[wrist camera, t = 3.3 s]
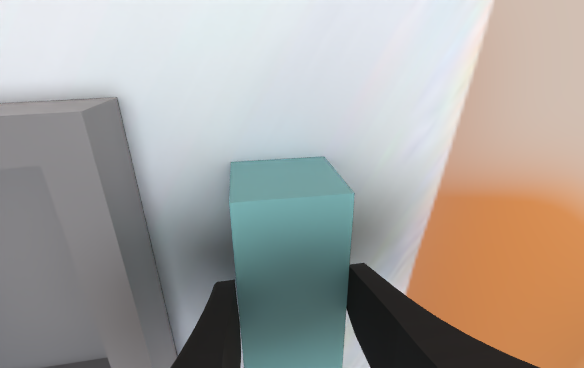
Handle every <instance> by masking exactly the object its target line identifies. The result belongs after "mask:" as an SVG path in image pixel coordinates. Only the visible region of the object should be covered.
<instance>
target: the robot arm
mask: <svg viewBox="0 0 584 368" xmlns="http://www.w3.org/2000/svg"><path fill="white" fill-rule="evenodd" d="M346 308H347V311H348V315H349V318H350V321H351V324H352V327H353V330H354V333H355V335H356V337H357V340H358V342H359V344H360V346H361V348H362V350H363V352H364V355H365V357H366V359H367V361H368V363H369V365H370V367H371V368H539V367H537V366H534V365H532V364H529V363H527V362H525V361H522V360H520V359H517V358H515V357H513V356H510V355H508V354H506V353H504V352H502V351H499V350H497V349H495V348H493V347H491V346H489V345H487V344H485V343H483V342H481V341H479V340H477V339H475V338H473V337H471V336H469V335H467V334H465V333H464V332H462V331H460V330H458V329H457V328H455V327H453V326H451V325H449V324H448V323H446V322H444V321H443V320H441V319H439V318H437V317H436V316H435V315H433V314H432V313H430V312H429V311H427V310H426V309H424V308H423V307H421V306H420V305H418V304H417V303H415V302H414V301H412V300H411V299H410V298H408V297H407V296H406V295H404V294H403V293H402V292H400V291H399V290H398V289H396V288H395V287H394V286H392V285H391V284H390V283H389V282H387V281H386V280H385V279H384V278H382V277H381V276H380V275H379V274H377V273H376V272H375V271H374V270H372V269H371V268H370V267H369V266H367V265H366V264H365V263H359V264H351V265H349V278H348V292H347V306H346ZM240 363H241V338H240V321H239V313H238V305H237V296H236V288H235V280H229V281H221V282H217V283H216V284H215V285H214V287H213V290H212V293H211V295H210V298H209V300H208V302H207V304H206V306H205V309H204V311H203V313H202V315H201V317H200V319H199V321H198V322H197V324H196V326H195V328H194V330H193V332H192V334H191V335H190V337H189V339H188V340H187V342H186V344H185V345H184V347H183V349H182V350H181V352H180V354H179V355H178V357H177V358H176V360H175V361H174V363H173V364H172V366H171V367H170V368H240Z"/></svg>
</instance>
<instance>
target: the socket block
mask: <svg viewBox="0 0 584 368" xmlns="http://www.w3.org/2000/svg"><path fill="white" fill-rule="evenodd" d="M176 358H177V354H176V349H175V345H174V341H173V336H172V332H171V328H170V324H169V319H168V315H167V311H166V306H165V302H164V298H163V294H162V289H161V285H160V281H159V276H158V272H157V268H156V264H155V259H154V255H153V251H152V246H151V242H150V238H149V234H148V229H147V225H146V221H145V216H144V212H143V208H142V204H141V199H140V195H139V191H138V187H137V182H136V178H135V174H134V169H133V165H132V161H131V157H130V152H129V148H128V144H127V139H126V135H125V131H124V127H123V122H122V118H121V114H120V109H119V105H118V101H117V97H115V98H96V99H76V100H57V101H37V102H18V103H0V368H170V367H171V366H172V364H173V363H174V361H175V360H176Z"/></svg>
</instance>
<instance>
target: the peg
mask: <svg viewBox="0 0 584 368" xmlns="http://www.w3.org/2000/svg"><path fill="white" fill-rule="evenodd" d="M354 194H355V193H354V192H353V191H352V190H351V188H350V187H349V186H348V185H347V184H346V182H345V181H344V180H343V179H342V178H341V176H340V175H339V174H338V173H337V172H336V170H335V169H334V168H333V167H332V166H331V164H330V163H329V162H328V161H327V160H326V158H325V157H309V158H292V159H275V160H258V161H241V162H231V170H230V193H229V207H230V218H231V229H232V240H233V251H234V262H235V273H236V284H237V295H238V306H239V317H240V328H241V339H242V350H243V361H244V368H342V362H343V348H344V334H345V320H346V306H347V292H348V278H349V264H350V250H351V236H352V222H353V208H354Z"/></svg>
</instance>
